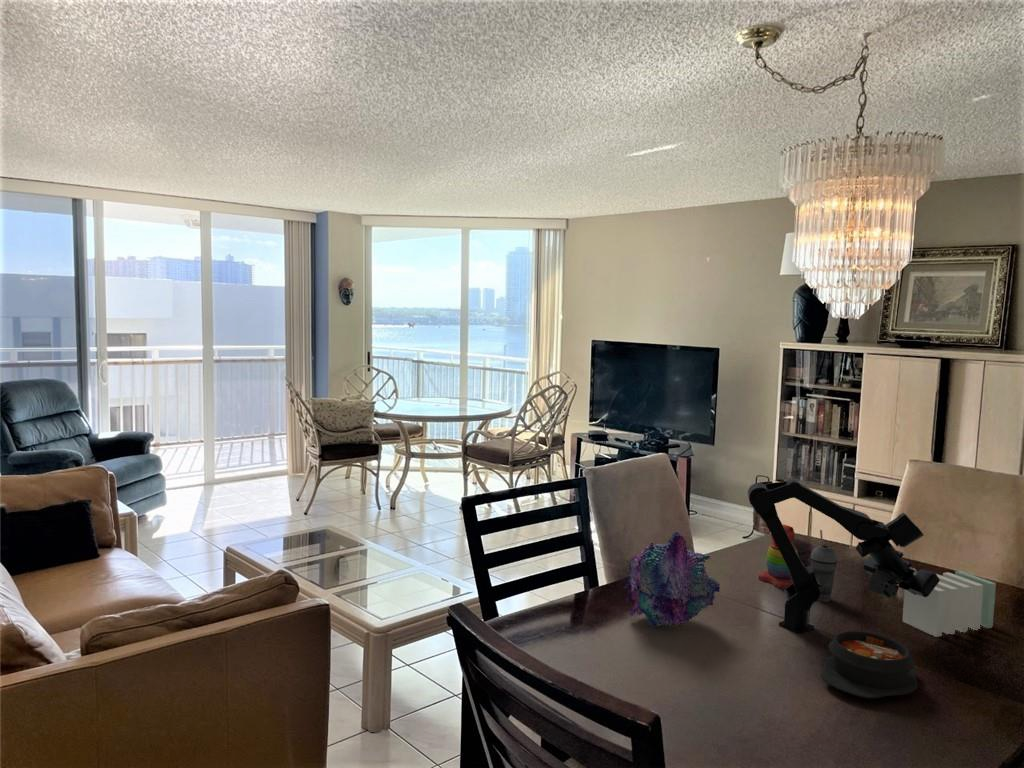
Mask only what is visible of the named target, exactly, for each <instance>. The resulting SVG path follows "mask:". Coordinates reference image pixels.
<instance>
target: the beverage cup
mask: <svg viewBox="0 0 1024 768" xmlns="http://www.w3.org/2000/svg"><path fill="white" fill-rule="evenodd" d="M819 531H820V532H819V535H820V545H818V546H816V547H814V548H813V550H812V551H811V554H810V557H809V559H810V565H811V567H812V569H813V571H814V574H815V576H816V577H817V578H818V580H819V582H820V585H821V587H819V589H820V593H821V595H820V597H819V599H818V600H817V601H818V602H825V603H826V602H830V601H831V597H832V592H833V585H834V584H833V583H834V578H835V572H836V568H837V565H838V562H839V561H838V557H837V553H836V551H835V550H834V549H833V548H832V547H830V546H829V545H825V544H824V541H823V529H820V530H819Z"/></svg>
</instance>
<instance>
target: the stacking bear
mask: <svg viewBox="0 0 1024 768" xmlns="http://www.w3.org/2000/svg"><path fill="white" fill-rule="evenodd" d="M782 525H783V527H784V529H785V531H786V533H787V535H788V537H789V539H790V541H791V543H792V545H793V547H794V548H795V550H796V552H797V554H798V555H799V552H798V549H797V547H796V545H795V544H794V541H795V537H796V535H795V529H794V528H793V526H790V525H787V524H782ZM770 538H771V540H772V542H771V543H770V545H769V546H768V549H767V553H766V559H765V561H766V566H767V571H763V572H760V573H759V574H758V580H760V581H762V580H763V582H766V581H767V583H770V584H772V585H773V586H774V587H775V586H776V587H775V588H778V589H784V590H785V589H786V588H787V587H788V586H790V585H791V584H792V583H793V582H792V578H791V575H790V571H789V568H788V566H787V564H786V562H785V560H784V558H783V557H782V555H781V553H780V551H779V549H778V547H777V545H776V543H775V541H774V539H773V537H772V535H771V534H770Z"/></svg>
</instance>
